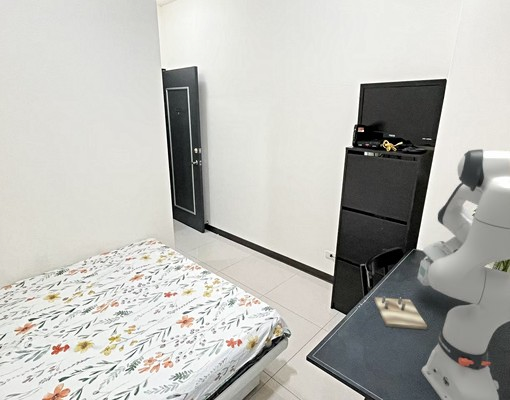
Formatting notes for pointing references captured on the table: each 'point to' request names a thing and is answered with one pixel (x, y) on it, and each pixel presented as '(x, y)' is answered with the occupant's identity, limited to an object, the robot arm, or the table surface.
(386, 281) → the table surface
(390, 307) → the pin tray
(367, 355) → the table surface
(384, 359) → the table surface
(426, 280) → the drive
